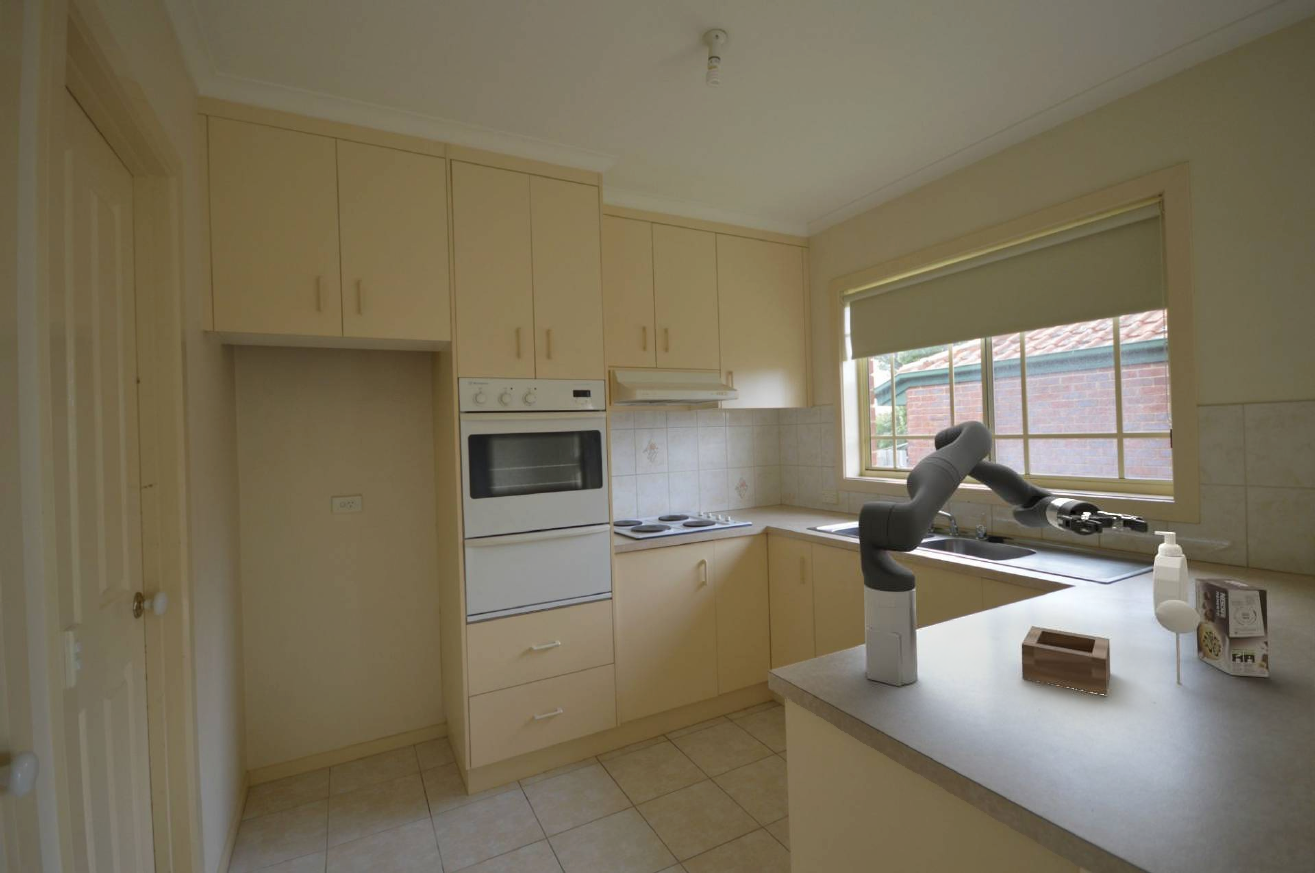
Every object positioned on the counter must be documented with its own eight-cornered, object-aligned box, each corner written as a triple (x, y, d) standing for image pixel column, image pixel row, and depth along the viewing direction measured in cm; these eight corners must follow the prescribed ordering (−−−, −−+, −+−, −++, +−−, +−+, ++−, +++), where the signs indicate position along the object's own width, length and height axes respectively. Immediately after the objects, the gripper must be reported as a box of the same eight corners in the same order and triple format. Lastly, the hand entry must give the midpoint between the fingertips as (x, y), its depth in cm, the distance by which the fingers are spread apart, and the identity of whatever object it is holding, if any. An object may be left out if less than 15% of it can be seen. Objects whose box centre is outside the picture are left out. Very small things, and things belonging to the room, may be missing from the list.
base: (1106, 696, 101) (1105, 659, 101) (1022, 678, 109) (1021, 643, 109) (1110, 672, 111) (1109, 638, 111) (1032, 657, 119) (1031, 626, 119)
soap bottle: (1161, 603, 152) (1159, 527, 152) (1188, 607, 148) (1187, 529, 148) (1151, 617, 141) (1149, 535, 141) (1180, 622, 137) (1178, 538, 137)
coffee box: (1271, 677, 107) (1269, 590, 107) (1229, 675, 108) (1228, 589, 108) (1233, 658, 116) (1231, 577, 116) (1195, 657, 117) (1193, 577, 117)
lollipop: (1191, 678, 107) (1189, 597, 107) (1209, 691, 102) (1207, 606, 102) (1150, 674, 109) (1148, 594, 109) (1165, 687, 104) (1163, 603, 104)
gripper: (1040, 500, 134) (1085, 510, 118) (1105, 499, 133) (1160, 508, 117) (1040, 532, 134) (1086, 546, 118) (1106, 531, 133) (1161, 545, 117)
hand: (1123, 527), depth 118 cm, fingers open, 8 cm apart
